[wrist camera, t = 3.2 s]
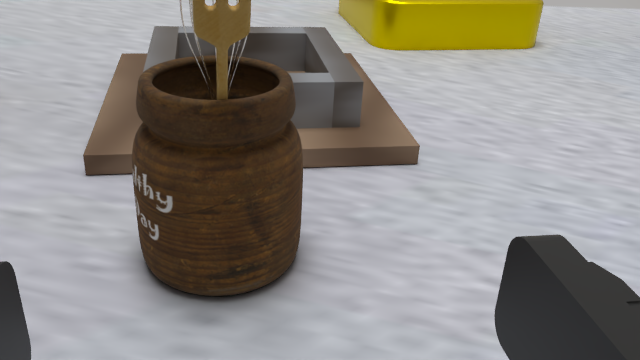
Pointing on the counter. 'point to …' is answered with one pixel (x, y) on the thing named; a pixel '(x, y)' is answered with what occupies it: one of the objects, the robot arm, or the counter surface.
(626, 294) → the robot arm
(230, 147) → the utensil holder
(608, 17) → the counter surface
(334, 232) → the counter surface
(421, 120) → the counter surface
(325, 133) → the socket base
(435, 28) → the element tile
